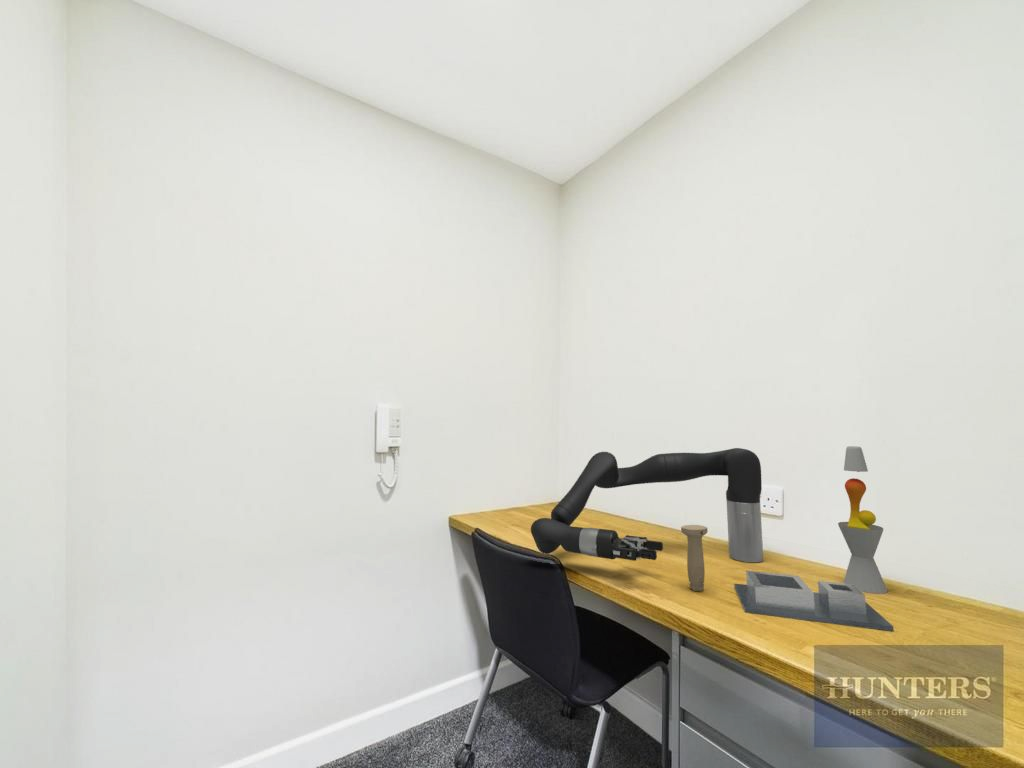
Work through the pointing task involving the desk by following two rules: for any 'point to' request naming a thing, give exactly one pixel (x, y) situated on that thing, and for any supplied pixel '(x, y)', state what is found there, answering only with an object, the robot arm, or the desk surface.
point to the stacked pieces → (861, 531)
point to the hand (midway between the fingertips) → (659, 550)
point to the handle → (695, 555)
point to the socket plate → (808, 601)
